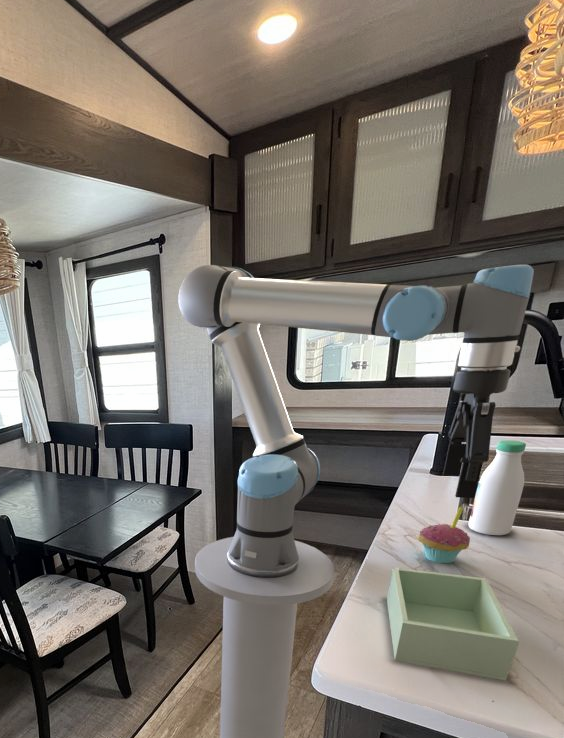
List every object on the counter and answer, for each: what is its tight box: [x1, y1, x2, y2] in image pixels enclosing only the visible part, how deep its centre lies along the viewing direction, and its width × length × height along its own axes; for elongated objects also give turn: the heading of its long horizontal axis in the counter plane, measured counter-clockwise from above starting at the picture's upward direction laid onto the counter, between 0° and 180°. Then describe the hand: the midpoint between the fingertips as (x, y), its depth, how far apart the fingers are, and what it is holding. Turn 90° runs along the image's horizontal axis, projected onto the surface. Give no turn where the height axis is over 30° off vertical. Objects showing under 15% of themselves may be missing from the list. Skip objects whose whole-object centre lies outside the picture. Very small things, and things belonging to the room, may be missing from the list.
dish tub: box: [386, 567, 520, 682], centre depth 72 cm, size 18×13×7 cm
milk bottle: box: [468, 440, 527, 536], centre depth 102 cm, size 8×8×20 cm
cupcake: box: [417, 503, 471, 564], centre depth 93 cm, size 9×8×12 cm
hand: (457, 485), depth 89 cm, fingers open, 13 cm apart
